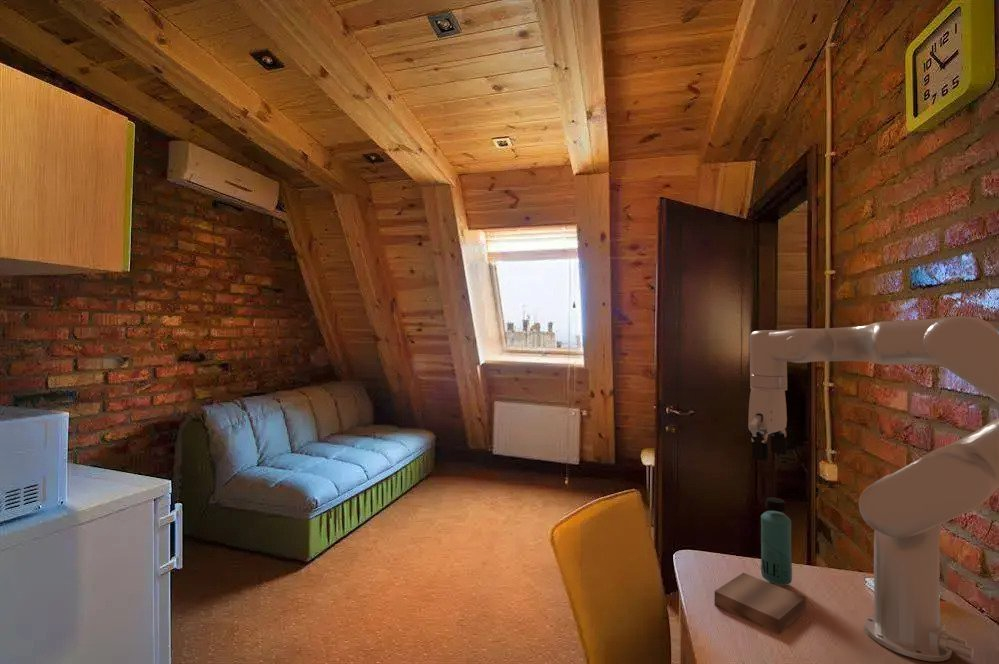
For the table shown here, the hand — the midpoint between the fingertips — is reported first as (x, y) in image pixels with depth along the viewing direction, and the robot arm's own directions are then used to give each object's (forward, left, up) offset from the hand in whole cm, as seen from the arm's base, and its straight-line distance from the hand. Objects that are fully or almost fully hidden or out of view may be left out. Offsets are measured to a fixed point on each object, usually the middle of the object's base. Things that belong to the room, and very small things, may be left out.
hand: (769, 456), depth 110 cm
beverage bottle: (0, -2, -30) cm, 30 cm away
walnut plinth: (-2, +11, -30) cm, 32 cm away
